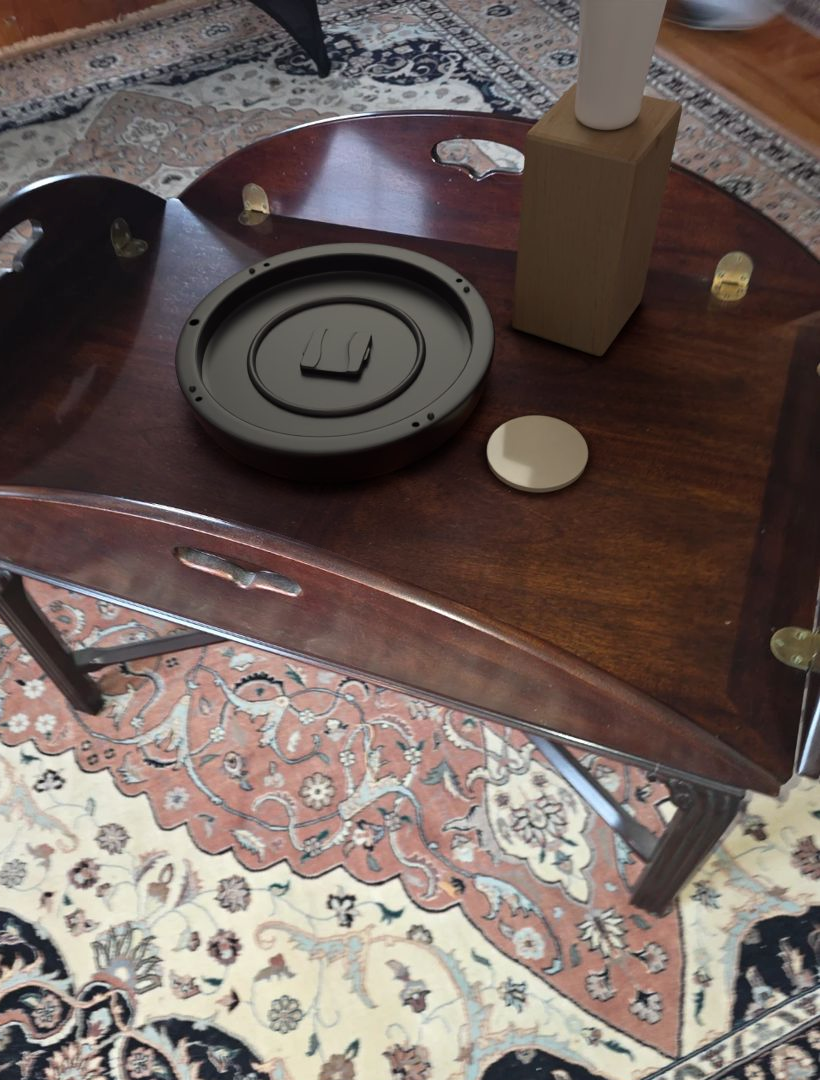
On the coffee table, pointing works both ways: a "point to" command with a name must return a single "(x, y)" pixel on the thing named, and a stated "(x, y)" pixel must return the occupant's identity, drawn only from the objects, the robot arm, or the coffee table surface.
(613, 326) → the wooden block
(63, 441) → the coffee table surface
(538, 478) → the coaster
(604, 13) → the drinking glass
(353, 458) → the round tray
